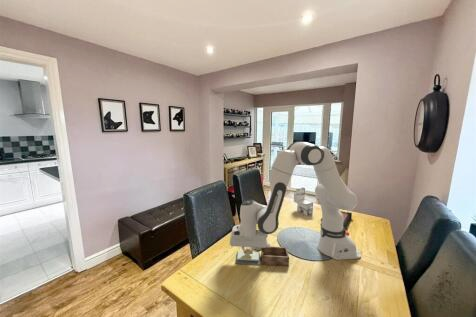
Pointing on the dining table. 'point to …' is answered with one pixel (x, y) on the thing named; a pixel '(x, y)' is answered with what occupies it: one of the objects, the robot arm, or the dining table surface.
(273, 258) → the box
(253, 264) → the mat
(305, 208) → the toy llama
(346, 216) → the book
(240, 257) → the lid
